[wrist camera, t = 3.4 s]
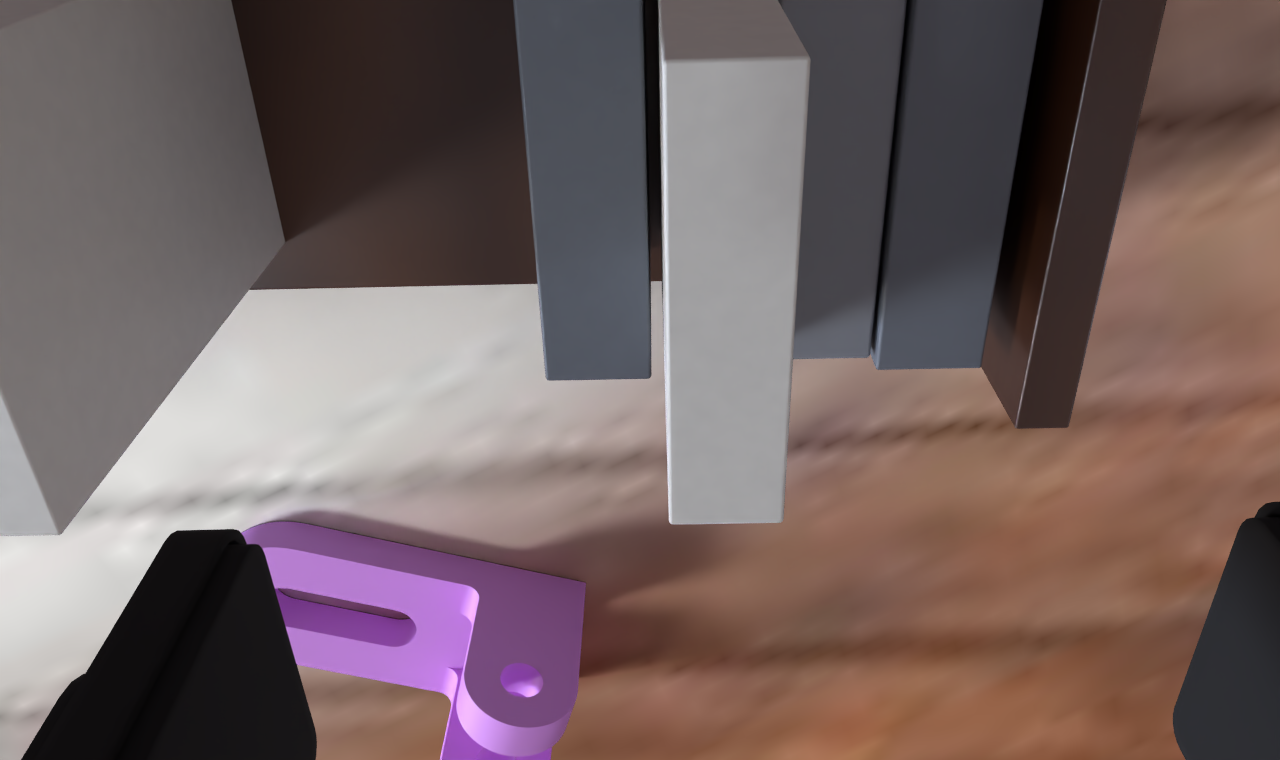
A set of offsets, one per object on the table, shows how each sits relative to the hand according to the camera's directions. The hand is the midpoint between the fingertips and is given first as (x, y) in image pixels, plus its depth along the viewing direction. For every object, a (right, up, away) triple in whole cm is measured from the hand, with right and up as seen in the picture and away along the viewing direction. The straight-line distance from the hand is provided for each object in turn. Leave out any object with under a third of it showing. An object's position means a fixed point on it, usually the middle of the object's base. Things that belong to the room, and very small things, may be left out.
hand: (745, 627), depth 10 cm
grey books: (+2, +10, +17) cm, 20 cm away
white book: (0, +10, +17) cm, 20 cm away
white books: (-14, +10, +17) cm, 24 cm away
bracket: (-10, -6, +28) cm, 30 cm away
